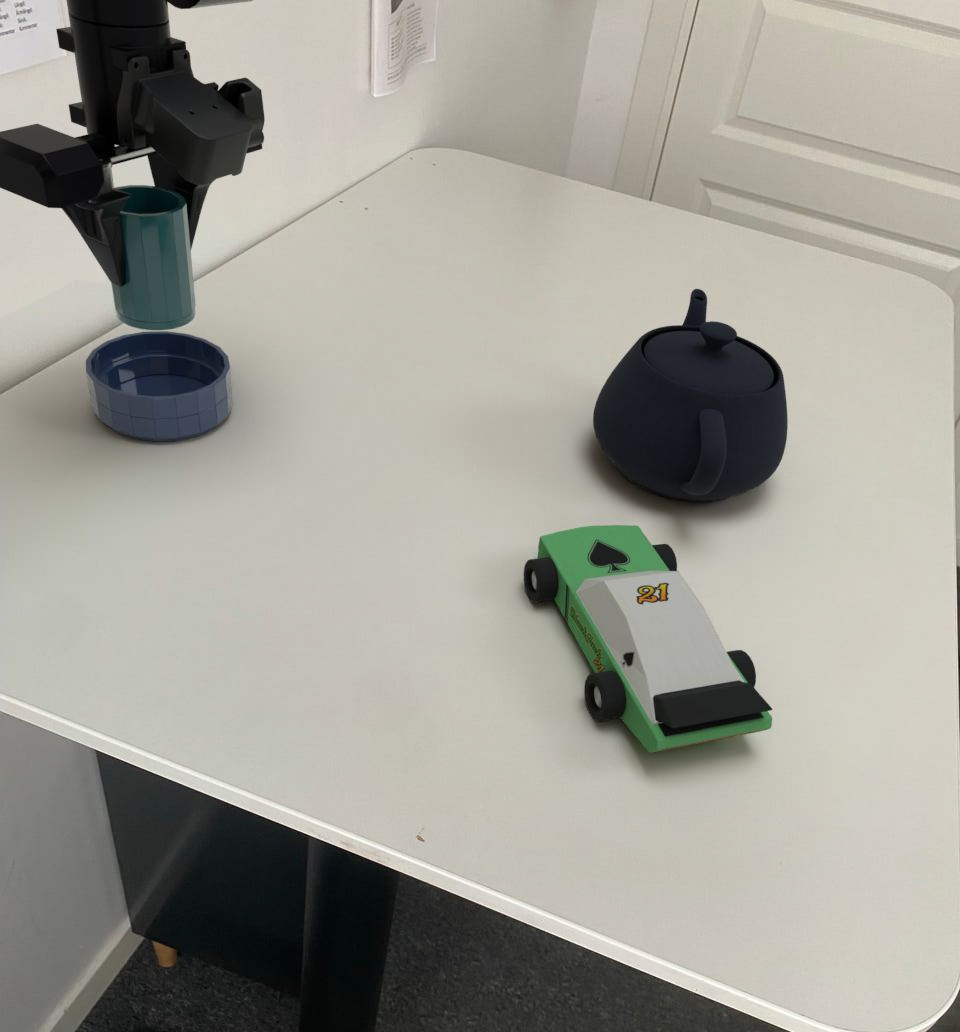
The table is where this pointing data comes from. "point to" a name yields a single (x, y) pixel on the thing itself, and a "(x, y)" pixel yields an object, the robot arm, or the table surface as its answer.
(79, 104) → the robot arm
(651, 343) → the teapot
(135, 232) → the cup
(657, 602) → the toy car
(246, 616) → the table surface
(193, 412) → the bowl
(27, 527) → the table surface
